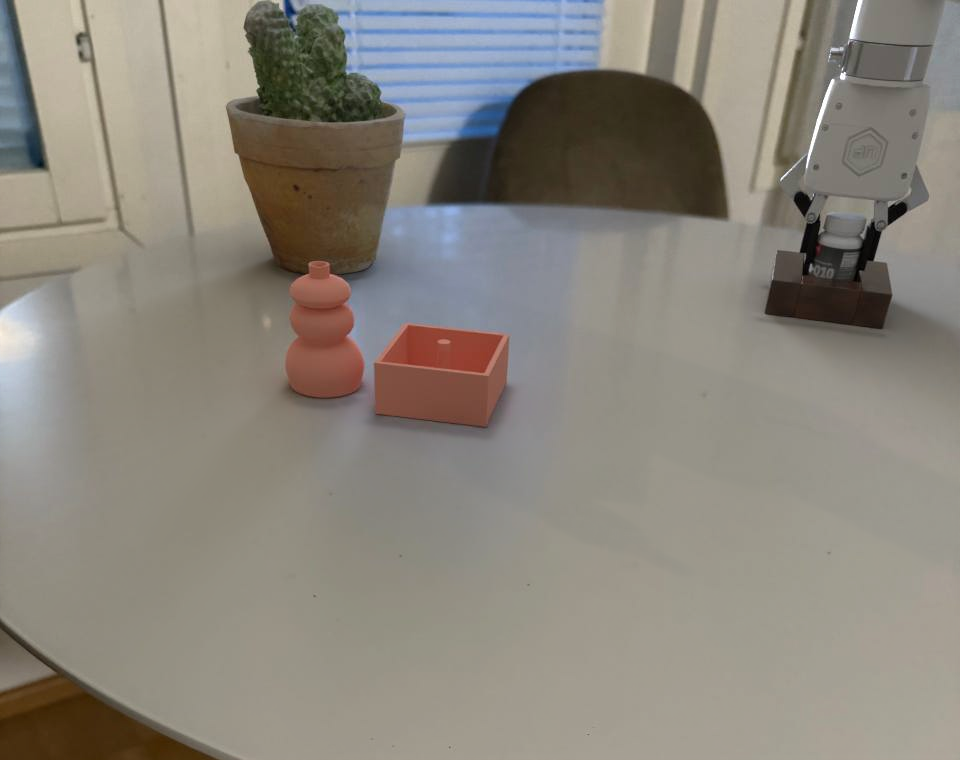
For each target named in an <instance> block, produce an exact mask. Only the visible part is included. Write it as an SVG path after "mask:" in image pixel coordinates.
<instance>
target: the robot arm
mask: <svg viewBox="0 0 960 760" xmlns="http://www.w3.org/2000/svg"><path fill="white" fill-rule="evenodd" d="M946 2H951V3H954V4H958V5H960V0H857V3H856V8H855V13H854V17H853V21H852V25H851V30H850V34H849V38H848V42H845V43H844V45H843V44H840V45H839V46H833V45H831V47H830V50H829V51H830V52H829V56H828V60H827V63H829V64H835V66H839V69H841V72H840V75H838V76H833V77H832V79H831V81H830V83H829V85H828V88H827V91H826V92H825V95H824V99H823V101H822V106H821V108H820V111H819V114H818V117H817V120H816V124H815V128H814V131H813V135H812V139H811V141H810V146H809V149H808V151H807V152H806V153H805V154H804V155H803V156H802V157H801V158H800V159H798V161H797V162H796V163H795V164H793V166H792V167H791V168H790V169H788V171H787V172H786V173H785V174H784V175H783V176H782V177H781V178H780V180H779V186H780V188H781V189H782V190H783V191H784V193H785V194H786V195H787V196H788V197H789V198H790V199H791V200H792V201H793V202H794V204H795V206H796V207H797V209H798V210H799V212H800V213H801V215H802V216H803V218H804V220H805V226H804V229H803V234H802V238H801V242H800V248H799V251H798V252H799V253H805V260H804V264H809V263H812V259H813V255H814V251H815V247H816V243H817V238H818V235H819V234H820V230H821V221H822V220H821V212H822V210H823V208H824V207H825V204H826V203H827V200H828V199H829V197H838V198H846V199H847V198H848V199H856V200H857V199H858V200H865V201H866V200H867V201H868V200H869V201H873V217H872V218H871V219H870V222H869V223H868V225H867V224H866V226H865V229H864V233H863V234H864V235H863V237H862V238H863V247H862V251H861V255H860V258H859V262H858V265H857V268H858V269H859V270H860V271H865V268H866V264H867V261H875V257H876V254H877V251H878V247H879V245H880V241H881V236H882V233H883V231H885V230H886V229H887V227H889V226H890V225H891V224H893V223H894V222H896V221H897V220H899V219H900V218H901V217H903V216H905V214H907V213H909V212H910V211H913V210H915V209H916V208H917V207H919V206H921V205H923V204H925V203H927V202H929V199H930V193H929V190H928V189H927V186H926V183H925V181H924V179H923V176H922V175H921V172H920V170H919V167H918V165H917V162H918V158H919V154H920V150H921V147H922V142H923V137H924V133H925V128H926V124H927V118H928V112H929V105H930V99H931V98H930V97H931V86H930V85H929V84H927V83H924V80H925V77H926V73H927V69H928V66H929V62H930V59H931V55H932V52H933V49H934V44H935V42H936V41H935V40H936V38H937V33H938V30H939V27H940V23H941V21H942V15H943V12H944V9H945V5H946ZM802 177H803V184H804V187H805V189H806V190H807V191H809V192H811V193H813V194H812V197H811V198H810V196H809V195H808V193H807V191H806V190H804V189H803V188H802V187H801V185H800V184H799V183H798V181H799V180H800V179H801V178H802ZM909 190H910V193H909V194H908V192H909ZM907 194H908V195H907ZM889 202H893V203H892V204H891V205H889Z"/></svg>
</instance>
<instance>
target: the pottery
mask: <svg viewBox="0 0 960 760" xmlns="http://www.w3.org/2000/svg"><path fill="white" fill-rule="evenodd" d="M308 266H309V274H303V275H302V276H300V277H297V278H296V279H295V280H294V281H293V282H292V283H291V284H290V288H289V295H290V297H291V299H292V300H293V301H294V302H295V304H294V305H293V307H292V308H291V310H290V313H289V323H290V327H291V329H292V330H293V332H294V333H295V335H297V337H296V338H295V339H294V340H293V341H292V342H291V344H289V347H288V348H287V351H286V354H285V359H284V366H285V367H284V368H285V372H286V375H287V379H288V381H289V384H290V387H291V388H292V390H293V391H294V392H296V393H298V394H300V395H303V396H307V397H312V398H320V399H321V398H322V399H323V398H324V399H326V398H327V399H329V398H338V397H343V396H347V395H350V394H352V393H353V394H354V393H355V392H357V391H358V390H359V389H360V387H361V385H362V381H363V376H364V372H365V360H364V356H363V352H362V350H361V348H360V347H359V345H358V344H357V343H356V341H355V340H354V339H353V338H352V337H351V336H349V335H350V333H352V331H353V328H354V326H355V319H356V317H355V314H354V312H353V309H352V308H351V306H350V305H349V304H348V303H347V302H348V301H349V300H350V297H351V295H352V290H351V286H350V284H349V283H348V282H347V281H346V280H345V279H344V278H342V277H341V276H338V275H332V274H330V270H329V263H328V262H324V261H314V262H310V263H309V264H308ZM509 349H510V333H502V332H495V331H494V332H492V331H484V330H474V329H465V328H456V327H448V326H447V327H446V326H437V325H430V324H429V325H427V324H419V323H409V322H404V323H403V325H402V326H401V327H400V329H399V330H398V331H397V332H396V333H395V335H394V336H393V338H392V339H391V340H390V342H389V343H388V344H387V346H386V347H385V348H384V349H383V350H382V352H381V353H380V355H379V356H378V357H377V358H376V360H374V362H373V373H374V374H373V376H374V377H373V378H374V379H373V380H374V409H375V410H374V412H375V413H374V414H375V415H383V416H392V417H399V418H408V419H418V420H424V421H431V422H432V421H433V422H439V423H440V422H442V423H448V424H458V425H465V426H473V427H483V428H487V427H488V424H489V422H490V419H491V417H492V416H493V414H494V411H495V409H496V407H497V404H498V402H499V400H500V398H501V395H502V393H503V391H504V389H505V386H506V385H507V381H508V365H509Z"/></svg>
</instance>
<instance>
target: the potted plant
mask: <svg viewBox="0 0 960 760" xmlns="http://www.w3.org/2000/svg"><path fill="white" fill-rule="evenodd" d="M339 19H340V18H339V13H338V12H335V10H334V9H333V8H331V7H328V6H326V5H324V4H322V3H311V4H306V5H305V6H303V8H301V9H300V10H299V13H298V16H297V17H296V18H295V21H296V24H295V25H294V26H293V27H291V25H290V24H291V22H292V19H291V18H288V17H287V16H286V15H285V11H284V10H283V9H281V8H280V3H279V2H277V3H276V2H273V1H271V0H261V1H260V0H259V1H257V2H256V3H254V4H253V6H251V7H250V9H249V10H248V11H247V12H246V15H245V18H244V24H243V27H242V29H243V30H244V32H245V35H244V37H245V38H246V41H247V43H248V44H249V45H250V47H248V49H247V53H248V54H249V56H250V57H251V59H252V65H253V69H254V73H255V78H256V81H257V82H256V84H257V85H258V86H259V87H257V89H256V90H255V92H256V94H257V95H254V96H247V97H241V98H235V99H232V100H230V101H228V102H227V103H226V104H225V109H226V110H225V111H226V115H227V120H228V124H229V128H230V134H231V140H232V146H233V151H234V154H236V155H238V158H239V163H240V167H241V171H242V175H243V179H244V181H245V183H246V185H247V186H248V189H249V192H250V194H251V198H252V201H253V204H254V207H255V210H256V213H257V217H258V218H259V221H260V224H261V227H262V229H263V232H264V234H265V237H266V238H267V241H268V244H269V247H270V250H271V254H272V257H273V258H274V260H275V262H276V264H277V266H278V267H280V268H282V269H284V270H286V271H290V272H293V273H297V274H303V275H307V274H309V266H308V264H309V263H310V262H314V261H324V262H328V263H329V270H330V274H332V275H336V276H338V275H343V274H351V273H356V272H360V271H364V270H366V269H368V268H369V267H370V266H372V264H373V263H374V261H375V260H376V259H377V254H378V249H379V244H380V240H381V234H382V229H383V224H384V219H385V216H386V212H387V207H388V204H389V199H390V195H391V191H392V185H393V179H394V173H395V169H396V168H395V167H396V161H397V160H398V159H400V158H401V153H402V148H403V141H404V129H405V119H406V116H407V111H406V110H405V109H404V108H401V107H400V106H399V105H398V104H394V103H392V102H389V101H385V100H381V95H382V91H381V89H380V87H379V85H378V84H377V83H375V82H374V81H372V80H371V79H369V78H368V77H367V76H366V75H364V74H360V73H359V72H349V73H348V72H347V70H346V68H347V64H348V63H347V62H348V53H347V49H346V45H345V40H346V32H345V31H344V29H343V28H342V26H340V25H339V24H338V23H339ZM294 30H295V31H294ZM295 36H297V37H295Z"/></svg>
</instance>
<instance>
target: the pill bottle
mask: <svg viewBox="0 0 960 760" xmlns="http://www.w3.org/2000/svg"><path fill="white" fill-rule="evenodd" d="M824 219H825V220H824V224H823V227H822V228H823V231H821V232H819V234H818V238H817V243H816V247H815V251H814V255H813V259H812V263H811V264H810V268H809V272H808V276H813V277H821V278H829V279H837V280H846V281H853V280H854V276H855V273H856V269H857V265H858V262H859V258H860V255H861V251H862V247H863V238H864V237H862V234H864V232H865V230H866V225H867V219H868V218H867V217H865V216H864V215H861V214H858V213H854V212H847V211H832V212H829V213H827V214H826V216H825V218H824Z"/></svg>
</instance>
